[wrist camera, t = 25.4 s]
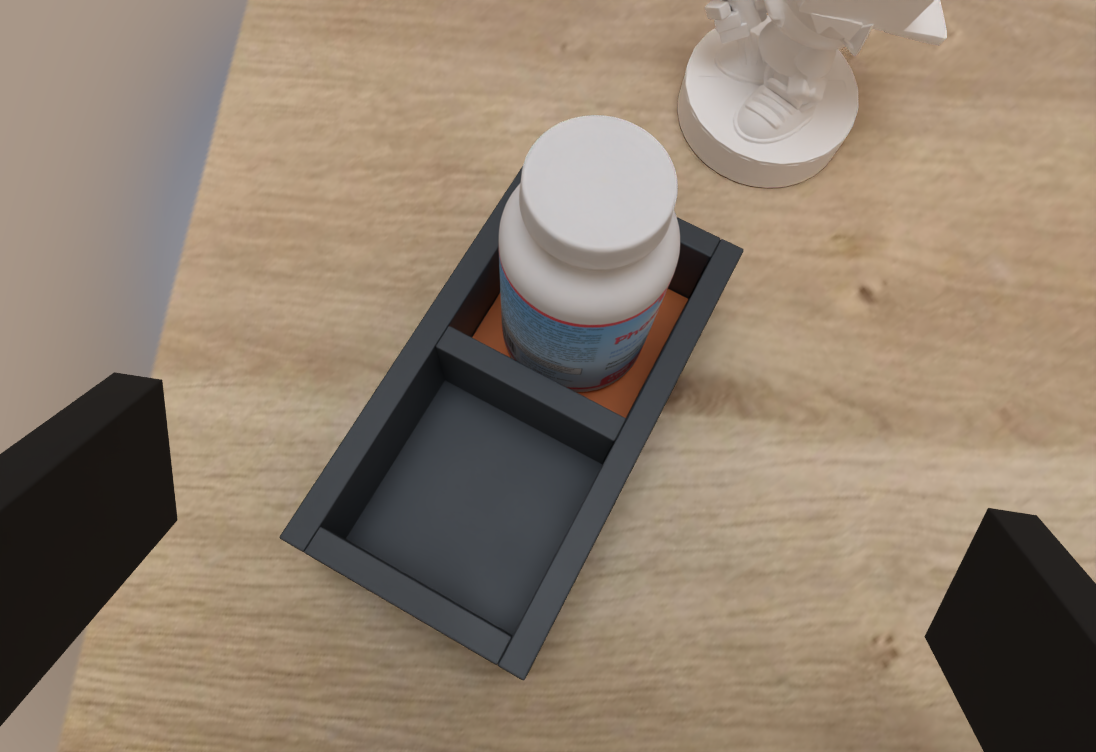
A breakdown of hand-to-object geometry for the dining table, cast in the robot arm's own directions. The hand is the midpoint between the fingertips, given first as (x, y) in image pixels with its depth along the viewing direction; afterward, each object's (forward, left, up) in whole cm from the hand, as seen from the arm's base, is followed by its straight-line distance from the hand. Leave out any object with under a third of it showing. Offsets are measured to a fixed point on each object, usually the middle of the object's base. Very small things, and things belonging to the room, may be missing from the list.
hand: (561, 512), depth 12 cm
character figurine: (-1, +26, -19) cm, 32 cm away
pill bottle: (-4, +10, -18) cm, 21 cm away
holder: (-4, +6, -19) cm, 20 cm away
